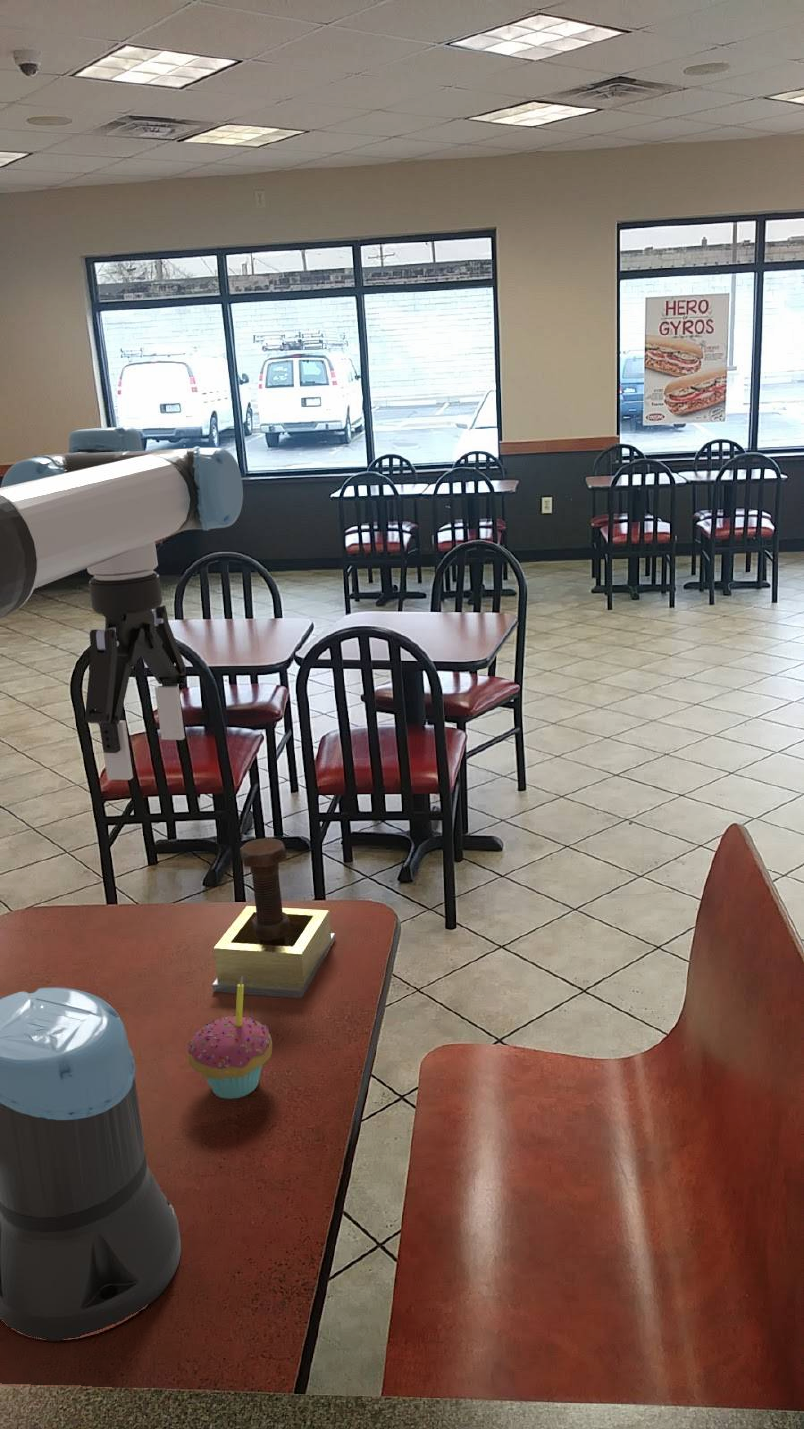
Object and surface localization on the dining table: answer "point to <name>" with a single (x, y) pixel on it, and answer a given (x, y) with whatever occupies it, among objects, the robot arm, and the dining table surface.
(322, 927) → the mount
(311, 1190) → the dining table surface
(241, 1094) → the cupcake
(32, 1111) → the robot arm
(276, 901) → the bolt
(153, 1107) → the dining table surface
